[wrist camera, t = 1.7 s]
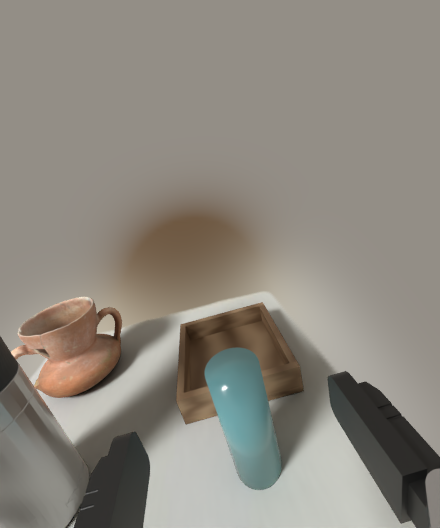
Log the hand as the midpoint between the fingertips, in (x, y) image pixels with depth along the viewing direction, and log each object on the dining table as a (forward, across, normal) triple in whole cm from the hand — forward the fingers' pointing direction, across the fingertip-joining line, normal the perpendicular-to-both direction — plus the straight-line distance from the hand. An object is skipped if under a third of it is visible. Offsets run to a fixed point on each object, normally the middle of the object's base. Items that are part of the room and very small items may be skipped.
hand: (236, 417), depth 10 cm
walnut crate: (+27, 0, +22) cm, 35 cm away
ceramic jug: (+35, +28, +22) cm, 50 cm away
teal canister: (+11, 0, +22) cm, 24 cm away
